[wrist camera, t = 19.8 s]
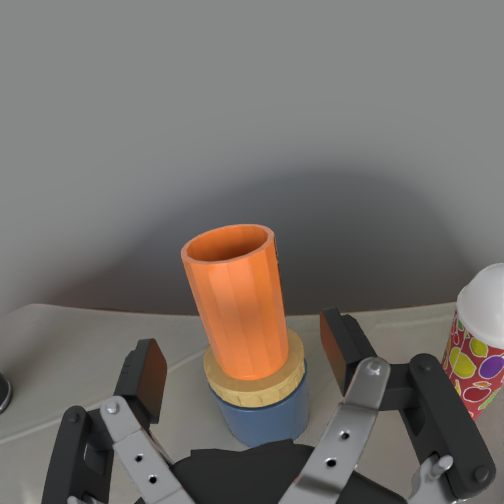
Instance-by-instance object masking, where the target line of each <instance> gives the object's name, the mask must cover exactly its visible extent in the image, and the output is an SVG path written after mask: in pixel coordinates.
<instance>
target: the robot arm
mask: <svg viewBox="0 0 504 504" xmlns="http://www.w3.org/2000/svg"><path fill="white" fill-rule="evenodd" d="M320 334H321V340H322V344H323V347H324V350H325V352H326V355H327V357H328V360H329V362H330V365H331V367H332V370H333V372H334V375H335V377H336V380H337V382H338V385H339V388H340V390H341V393H342V395H343V397H344V399H343V401H342V402H341V403H339V404H338V406H337V407H336V409H335V411H334V413H333V415H332V417H331V419H330V421H329V423H328V425H327V427H326V429H325V431H324V433H323V435H322V437H321V438H320V440H319V442H318V444H317V446H316V447H312V446H308V445H302V444H293V439H292V438H290V439H285V440H280V441H274V442H268V443H265V444H262V445H259V446H257V447H254V448H251V449H248V450H245V451H242V452H237V451H228V450H221V449H199V450H191V456H190V457H187V458H184V459H182V460H180V461H178V462H176V463H174V461H173V460H172V459H171V458H170V457H169V456H168V454H167V453H166V452H165V450H164V449H163V448H162V446H161V445H160V444H159V442H158V441H157V439H156V438H155V436H154V435H153V434H152V432H151V431H150V430H149V427H150V424H158V422H159V416H160V410H161V404H162V398H163V392H164V386H165V380H166V375H167V363H166V360H165V358H164V356H163V354H162V352H161V350H160V348H159V346H158V344H157V342H156V340H155V339H154V338H152V339H143V340H139V341H138V343H137V346H136V349H135V350H134V351H131V352H130V353H129V355H128V356H127V357H126V358H125V361H124V364H123V367H122V370H121V374H120V376H119V379H118V382H117V385H116V388H115V392H114V395H113V396H111V397H109V398H107V399H106V400H105V401H104V402H103V403H102V404H101V407H100V408H99V409H96V410H92V411H88V412H86V411H85V409H84V408H83V407H81V406H72V407H70V408H69V409H68V410H67V411H66V412H65V413H64V415H63V418H62V421H61V425H60V428H59V431H58V434H57V438H56V441H55V445H54V449H53V452H52V456H51V460H50V464H49V468H48V472H47V477H46V481H45V486H44V491H43V497H42V502H41V504H108V501H109V491H110V481H111V473H112V465H113V458H114V451H115V453H116V455H117V456H118V458H119V460H120V462H121V464H122V466H123V467H124V469H125V471H126V473H127V474H128V476H129V478H130V479H131V481H132V483H133V484H134V486H135V487H136V489H137V491H138V492H139V494H140V495H141V497H140V498H139V499H138V500H137V501H136V502H135V503H134V504H462V503H464V502H466V501H468V500H469V499H471V498H473V497H474V496H476V495H478V494H479V493H481V492H482V491H484V490H485V489H487V488H488V487H489V486H490V485H491V484H492V482H493V480H494V478H495V475H496V467H495V464H494V462H493V460H492V457H491V455H490V453H489V451H488V449H487V447H486V445H485V443H484V441H483V439H482V436H481V434H480V433H479V431H478V429H477V427H476V425H475V423H474V421H473V419H472V417H471V415H470V413H469V412H468V410H467V408H466V406H465V404H464V403H463V401H462V399H461V397H460V396H459V394H458V392H457V390H456V389H455V387H454V385H453V384H452V382H451V380H450V379H449V377H448V375H447V374H446V372H445V371H444V369H443V367H442V366H441V364H440V363H439V361H438V360H437V358H436V357H434V356H433V355H430V354H426V353H423V354H418V355H416V356H414V357H413V358H412V359H411V361H410V363H408V364H389V363H388V362H387V361H386V360H384V359H382V358H380V357H378V356H377V355H376V353H375V351H374V349H373V348H372V346H371V344H370V342H369V341H368V339H367V337H366V336H365V335H364V332H363V331H362V329H361V328H360V326H359V324H358V322H357V321H356V319H354V318H353V317H351V316H350V315H348V314H347V315H343V316H341V315H340V313H339V311H338V309H337V308H336V307H331V308H327V309H322V310H320ZM11 396H12V386H11V384H10V383H9V382H8V380H7V379H5V377H4V376H3V375H2V373H1V372H0V413H1V412H2V411H3V410H4V409H5V408H6V407H7V405H8V404H9V402H10V399H11ZM387 410H399V412H400V414H401V417H402V419H403V422H404V424H405V427H406V429H407V432H408V434H409V437H410V439H411V442H412V444H413V447H414V450H415V452H416V455H417V458H418V460H419V463H420V467H419V468H418V469H417V470H416V471H415V473H414V474H413V477H412V492H411V495H410V497H409V498H408V499H407V500H405V499H404V498H403V497H402V496H400V495H399V494H397V493H395V492H393V491H391V490H389V489H387V488H385V487H383V486H381V485H379V484H377V483H376V482H374V481H372V480H370V479H368V478H367V477H365V476H363V475H361V474H360V473H358V472H356V471H355V468H356V466H357V464H358V462H359V460H360V458H361V455H362V453H363V451H364V448H365V446H366V443H367V441H368V438H369V436H370V433H371V431H372V428H373V426H374V423H375V420H376V418H377V415H378V412H379V411H387ZM86 445H87V450H86V455H85V460H84V453H85V448H86Z"/></svg>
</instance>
